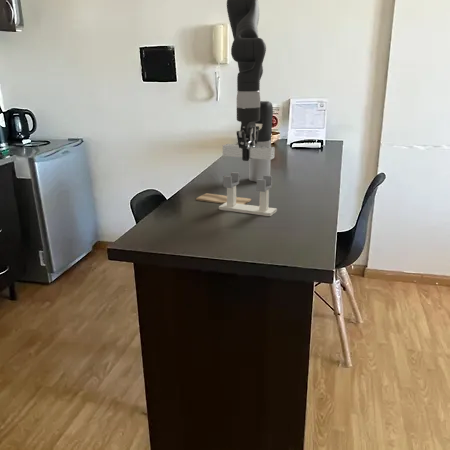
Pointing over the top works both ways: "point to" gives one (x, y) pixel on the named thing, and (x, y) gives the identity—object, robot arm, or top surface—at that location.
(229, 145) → the rail
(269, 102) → the robot arm
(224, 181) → the rail stand
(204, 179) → the top surface
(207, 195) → the mat
